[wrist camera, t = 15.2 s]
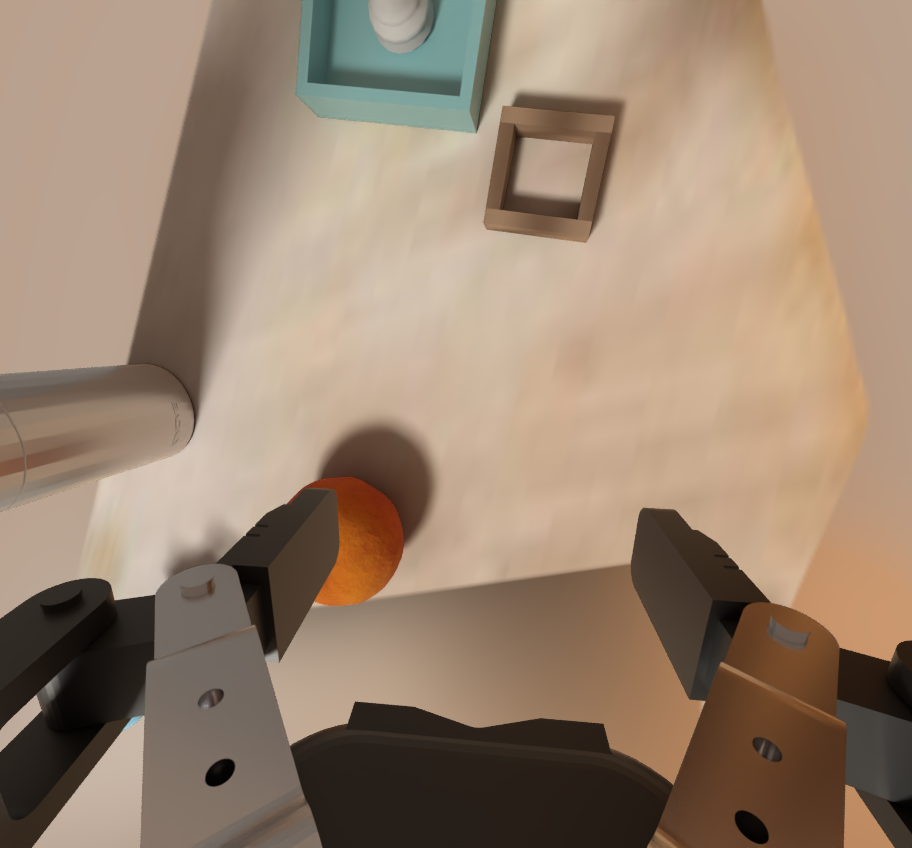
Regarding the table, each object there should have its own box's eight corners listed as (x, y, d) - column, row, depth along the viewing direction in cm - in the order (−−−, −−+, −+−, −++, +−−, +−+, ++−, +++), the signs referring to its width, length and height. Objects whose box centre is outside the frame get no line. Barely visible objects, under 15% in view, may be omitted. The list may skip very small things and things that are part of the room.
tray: (318, 116, 34) (295, 94, 31) (334, -81, 31) (311, -128, 28) (476, 133, 32) (469, 111, 29) (508, -76, 29) (504, -126, 26)
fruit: (436, 512, 39) (411, 556, 31) (377, 592, 42) (341, 650, 34) (341, 442, 39) (292, 468, 32) (289, 526, 42) (232, 568, 34)
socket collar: (486, 229, 33) (483, 222, 31) (505, 119, 32) (502, 105, 30) (585, 242, 32) (588, 236, 30) (610, 129, 31) (615, 116, 29)
